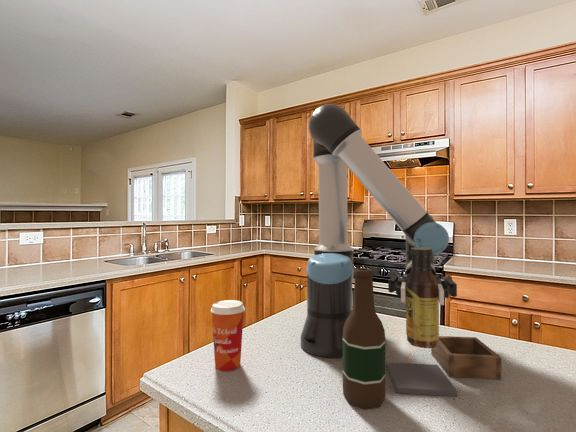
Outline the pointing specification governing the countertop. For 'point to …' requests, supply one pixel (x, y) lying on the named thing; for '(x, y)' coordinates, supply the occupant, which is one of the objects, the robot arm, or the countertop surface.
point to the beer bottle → (364, 347)
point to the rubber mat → (420, 379)
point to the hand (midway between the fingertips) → (422, 296)
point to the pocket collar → (466, 358)
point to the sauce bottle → (422, 301)
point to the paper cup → (227, 333)
